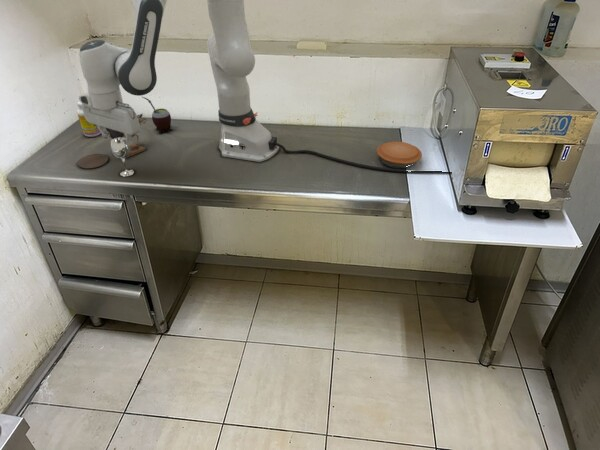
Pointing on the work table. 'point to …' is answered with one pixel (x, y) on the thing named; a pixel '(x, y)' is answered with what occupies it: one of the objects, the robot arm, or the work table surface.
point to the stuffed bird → (115, 134)
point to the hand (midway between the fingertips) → (117, 140)
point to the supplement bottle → (86, 123)
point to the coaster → (93, 161)
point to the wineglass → (121, 153)
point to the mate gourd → (161, 118)
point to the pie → (398, 154)
